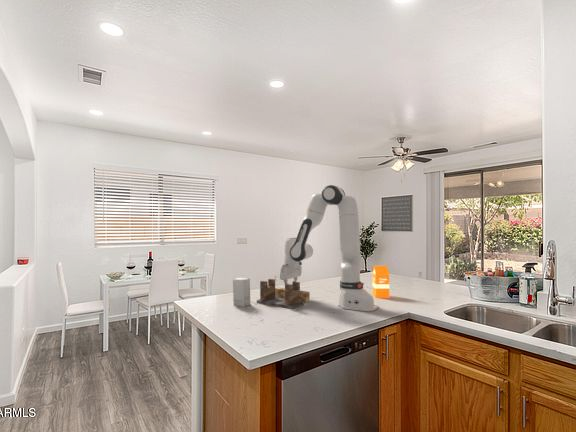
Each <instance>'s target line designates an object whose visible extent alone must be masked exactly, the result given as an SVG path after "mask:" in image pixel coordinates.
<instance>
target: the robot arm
mask: <svg viewBox="0 0 576 432" xmlns="http://www.w3.org/2000/svg"><path fill="white" fill-rule="evenodd" d="M329 205H330V206H332V205H333V206H337V207H338V220H339V221H338V223H339V225H338V226H339V245H340V248H339V249H340V280H339V281H340V282H339V290H340V291H339V293H340V294H339V299H338V300H339V301H338V303H337V306H339V307H341V308H342V310H343V309H344V310H352V311H361V312H374V311H375V310H377V309H378V308H379V305H378V304H377V303H375V299H374V296H373V294H371V293H370V292H368V291H367V290H366V289H365V288H364V286H365V282H362V281H361V264H360V261H361V260H360V259H361V257H360V252H361V241H360V240H361V239H360V226H359V209H358V205H357V200H356V198H355V197H354V196H352V195H351V196H350V195H346V193H345V191H344V190H343V189H342V187H339V186H337V185H333V184H330V185H326V186H325V187H324V188H323V189H322V191H321V193H319V192H318V193H313V195H311V197H310V199H309V202H308V204H307V207H306V211H305V215H304V217H303V220H302V223H301V224H300V228H299V230H298V233H297V236H296V237H290V238H289V237H288V238H287V239H286V240H285V241H284V242H285V243H284V258H283V264H282V266H281V268H280V271H279V280H281V281H283V283H284V285H285V284H289V283H288V281H289V280H290V279H293V281H292V282H298V280H299V279H298V277H301V276H302V273H303V272H302V270H303V269H302V265H303V262H302V261H304V260H307V259H309V258H311V257H312V256H313V254H314V249H313V247H312V245H311V244H309V243H307V242H308V238H309V235H310V234H311V232H312V231H313V229H315V228H316V227H318V226H319V225H320V224H321V223H322V221H323V220H324V216H325V213H326V210H327V207H328V206H329Z"/></svg>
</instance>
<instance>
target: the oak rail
mask: <svg viewBox="0 0 576 432" xmlns="http://www.w3.org/2000/svg"><path fill="white" fill-rule="evenodd" d="M310 294H311V293H310V291H306V290H300V301H301V302H304V303H305V304H306V303H308V302H310V298H311V297H310ZM275 297H276V298H282V299H285V287H279V286H278V287H275Z"/></svg>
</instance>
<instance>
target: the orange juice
mask: <svg viewBox="0 0 576 432" xmlns="http://www.w3.org/2000/svg"><path fill="white" fill-rule="evenodd" d="M372 297H373V298H376V299H389V298H390V274H389V269H388V265H373V270H372Z"/></svg>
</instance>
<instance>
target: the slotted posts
mask: <svg viewBox="0 0 576 432" xmlns="http://www.w3.org/2000/svg"><path fill="white" fill-rule="evenodd" d="M259 282H260V283H259V284H260V285H259V290H260V291H259V294H260V295H259V296H260V299H256V303H257V304H262V305H268V306H273V307H279V308H285V309H289V310H290V309H291V310H294V309H297V308H298V307H301V306H304V305H305V304H304V303H305V302H301V301H300V291H301V282H300V281H296V282H293V281H292V282H291V283H292V284H290V283H288V284H285V283H284V288H285V299H282V298H276V297H275V288H276V279H275V278H268V280H267V281H266V280H260V281H259Z"/></svg>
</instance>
